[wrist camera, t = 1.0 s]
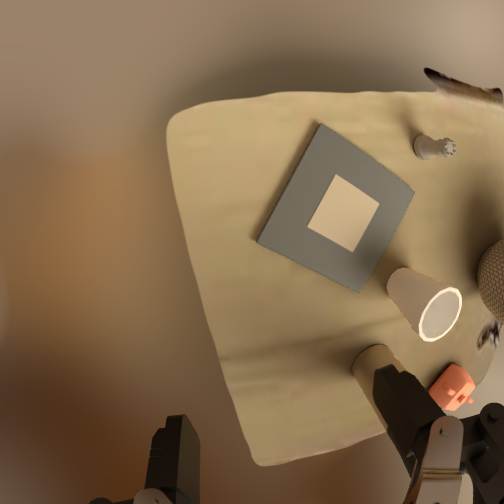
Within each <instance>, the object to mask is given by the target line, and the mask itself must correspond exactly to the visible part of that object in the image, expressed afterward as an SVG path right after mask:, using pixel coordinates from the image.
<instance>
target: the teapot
mask: <svg viewBox="0 0 504 504" xmlns="http://www.w3.org/2000/svg"><path fill="white" fill-rule="evenodd" d="M474 388H475V385H474V383H473V381H472V379H471V377H470V376H469V374H468V373H467V372H466V371H465V370H464V369H463V368H461V367H460V366H457V365H455V364H451V365H450V366H449V367H448V368H447V369H446V370H445V371H444V372H443V373H442V374H441V376H440V377H439V378H438V379H437V380H436V382H435V383H434V384H433V385H432V387H431V388H430V390H429V394H430V395H431V397H432V398H433V399H434V401H435V402H436V403H437V404H439V405H440V406H441V407H443V408H445V409H447V410H451V411H454V410H455V409H457V408H458V407H459V406H460V405H461V404H462V403H464V402H465V401H467V402H469V403H472V402H473V400H472V399H471V398H470V397H469V395H470V393H471V392H472V391H473V389H474Z"/></svg>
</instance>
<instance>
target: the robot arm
mask: <svg viewBox="0 0 504 504" xmlns="http://www.w3.org/2000/svg"><path fill="white" fill-rule="evenodd" d="M352 372H353V375H354V376H355V378H356V380H357V382H358V383H359V385H360V387H361V388H362V390H363V392H364V394H365V395H366V397H367V399H368V400H369V402H370V404H371V406H372V407H373V409H374V411H375V412H376V414H377V416H378V418H379V419H380V421H381V423H382V424H383V426H384V428H385V430H386V431H387V433H388V435H389V437H390V438H391V440H392V441H393V443H394V445H395V447H396V448H397V450H398V452H399V454H400V456H401V458H402V460H403V462H404V465H405V467H406V469H407V471H408V473H409V476H410V478H411V481H410V484H409V488H408V491H407V494H406V497H405V499H404V501H403V503H402V504H457V501H458V496H459V491H460V487H461V481H462V475H464V474H465V473H468V474H469V476H470V477H471V480H472V483H473V504H504V406H503V405H501V404H499V403H490V404H487V405H486V406H484V407H483V409H482V410H481V412H480V414H478V415H474V416H471V417H467V418H464V419H458V418H456V417H454V416H447V415H446V414H445V413H444V412H443V411H442V409H441V408H440V407H439V406H438V404H437V403H436V402H435V401H434V399H433V398H432V397H431V395H430V394H429V393H428V392H427V391H426V389H425V388H424V387H423V385H421V383H420V382H419V381H418V379H417V378H416V377H415V376H414V375H412V374H411V373H409V372H408V371H407V370H406V369H405V368H404V367H403V365H402V364H401V363H400V362H399V360H398V359H397V358H396V357H395V355H394V354H393V353H392V352H391V350H390V349H389V348H388V347H387V346H385V345H374V346H371V347H369V348H367V349H366V350H364V351H363V352H362V353H361V354H359V356H358V357H357V358H356V359H355V361H354V363H353V366H352ZM89 504H200V441H199V437H198V434H197V432H196V431H195V429H194V428H193V426H192V424H191V422H190V420H189V419H188V417H187V416H186V415H185V414H183V415H173V416H168V417H167V420H166V426H165V428H159V429H158V430H157V432H156V433H155V435H154V436H153V438H152V445H151V450H150V458H149V462H148V469H147V475H146V482H145V487H144V489H143V490H142V491H140V492H139V493H138V494H137V495H136V497H135V498H133V499H131V500H126V501H121V502H115V503H113V502H111V501H110V500H108V499H106V498H96V499H94V500H92V501H91V502H90V503H89Z"/></svg>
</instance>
